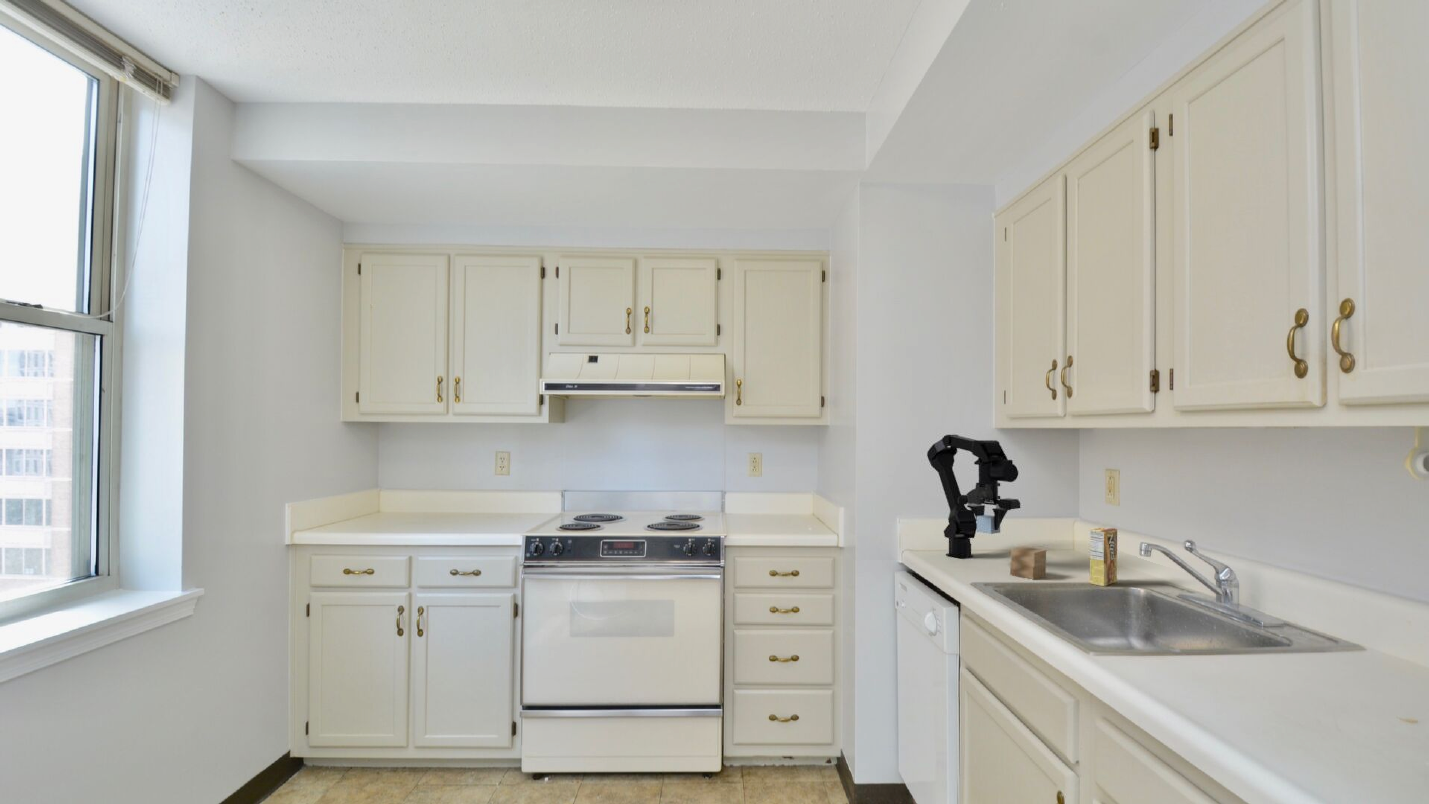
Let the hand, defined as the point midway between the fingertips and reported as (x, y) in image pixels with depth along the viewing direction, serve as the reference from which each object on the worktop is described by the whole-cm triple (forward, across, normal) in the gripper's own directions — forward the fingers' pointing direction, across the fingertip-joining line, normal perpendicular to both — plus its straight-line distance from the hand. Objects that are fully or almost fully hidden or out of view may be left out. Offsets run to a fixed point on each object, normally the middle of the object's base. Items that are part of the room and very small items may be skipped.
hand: (988, 528), depth 219 cm
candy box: (+12, +32, +7) cm, 35 cm away
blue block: (+1, 0, 0) cm, 1 cm away
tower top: (+8, +15, -4) cm, 18 cm away
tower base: (+12, +15, -4) cm, 20 cm away
